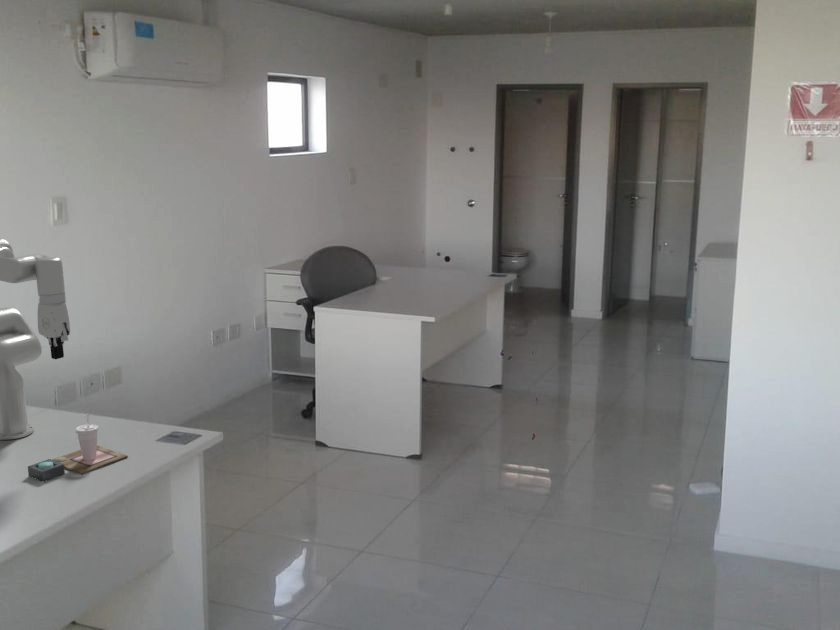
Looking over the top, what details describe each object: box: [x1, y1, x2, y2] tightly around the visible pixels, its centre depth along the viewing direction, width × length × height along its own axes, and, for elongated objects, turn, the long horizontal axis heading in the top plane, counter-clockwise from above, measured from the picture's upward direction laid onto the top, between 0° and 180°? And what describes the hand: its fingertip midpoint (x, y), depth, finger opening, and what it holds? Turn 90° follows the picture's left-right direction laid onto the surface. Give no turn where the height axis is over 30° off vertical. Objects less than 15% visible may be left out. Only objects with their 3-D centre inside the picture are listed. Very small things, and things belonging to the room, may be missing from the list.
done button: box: [38, 462, 53, 470], centre depth 268 cm, size 4×4×3 cm
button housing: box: [27, 458, 66, 482], centre depth 268 cm, size 7×7×3 cm
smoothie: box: [75, 413, 99, 461], centre depth 277 cm, size 6×6×14 cm
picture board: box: [51, 445, 129, 475], centre depth 279 cm, size 16×16×1 cm
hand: (57, 357), depth 282 cm, fingers closed
